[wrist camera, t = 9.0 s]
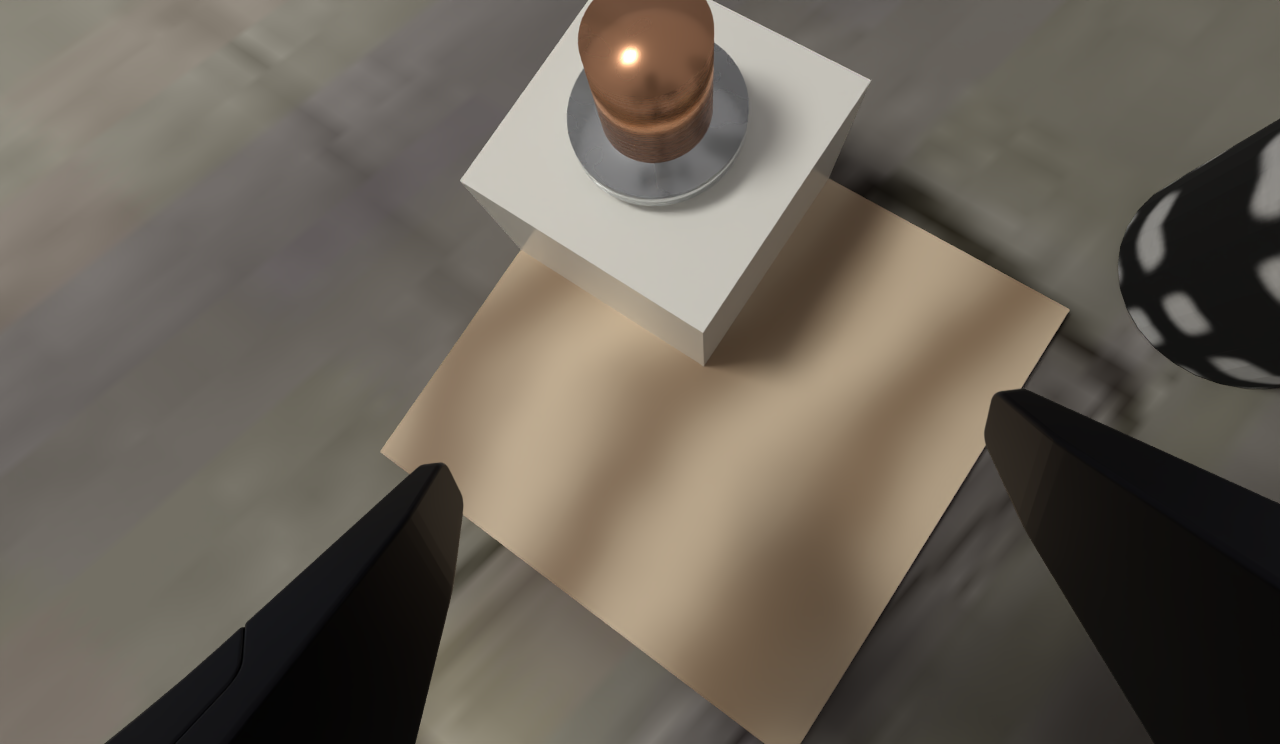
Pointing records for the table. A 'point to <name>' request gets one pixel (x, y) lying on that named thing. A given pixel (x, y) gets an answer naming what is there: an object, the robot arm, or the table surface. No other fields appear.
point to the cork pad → (736, 448)
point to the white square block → (683, 232)
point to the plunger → (655, 101)
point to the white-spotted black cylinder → (1212, 266)
